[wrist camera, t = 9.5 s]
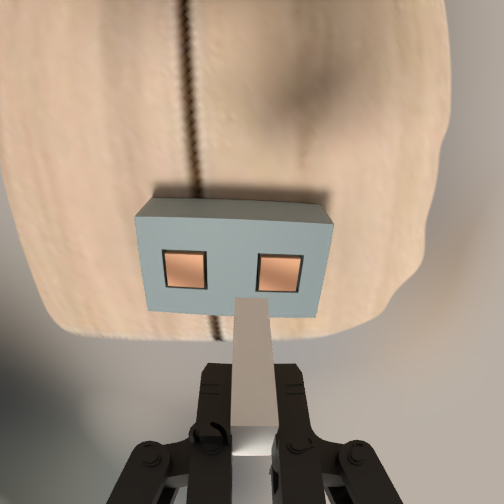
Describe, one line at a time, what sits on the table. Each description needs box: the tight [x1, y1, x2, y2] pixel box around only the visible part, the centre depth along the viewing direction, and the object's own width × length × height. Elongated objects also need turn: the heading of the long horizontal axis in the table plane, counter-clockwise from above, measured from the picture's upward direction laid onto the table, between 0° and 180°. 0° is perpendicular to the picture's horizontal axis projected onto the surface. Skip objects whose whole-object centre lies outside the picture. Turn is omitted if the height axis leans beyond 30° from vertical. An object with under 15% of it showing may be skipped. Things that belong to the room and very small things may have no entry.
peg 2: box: [258, 253, 301, 291], centre depth 35 cm, size 4×4×6 cm
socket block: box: [135, 198, 334, 318], centre depth 35 cm, size 12×20×6 cm, turn 87°
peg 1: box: [165, 250, 207, 288], centre depth 34 cm, size 4×4×6 cm
